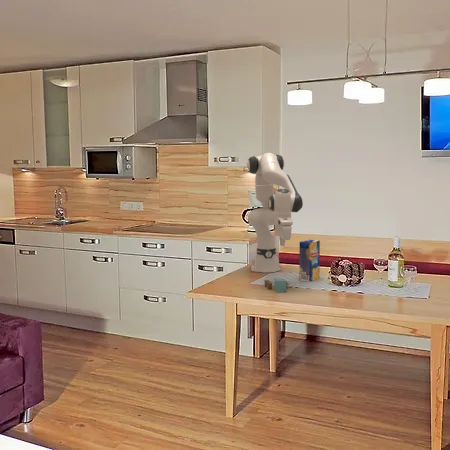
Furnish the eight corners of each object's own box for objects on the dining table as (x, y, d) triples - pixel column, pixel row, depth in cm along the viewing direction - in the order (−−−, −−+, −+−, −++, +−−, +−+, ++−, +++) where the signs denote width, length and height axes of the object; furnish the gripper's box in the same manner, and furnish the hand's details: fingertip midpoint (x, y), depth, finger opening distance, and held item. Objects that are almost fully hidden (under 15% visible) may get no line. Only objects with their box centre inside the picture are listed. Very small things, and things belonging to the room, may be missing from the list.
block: (274, 290, 302) (274, 279, 301) (283, 289, 303) (283, 278, 302) (277, 292, 297) (277, 281, 296) (286, 292, 298) (286, 280, 297)
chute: (264, 286, 313) (264, 279, 312) (283, 285, 314) (282, 278, 314) (268, 289, 304) (268, 283, 303) (287, 288, 306) (287, 282, 305)
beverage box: (319, 278, 330) (319, 240, 328) (309, 281, 322) (309, 242, 319) (309, 276, 335) (309, 239, 332) (299, 280, 326) (299, 241, 324)
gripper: (272, 217, 312) (271, 242, 314) (281, 222, 292) (281, 249, 294) (283, 217, 313) (283, 242, 315) (293, 222, 293) (293, 248, 295)
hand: (282, 245), depth 304 cm, fingers closed
